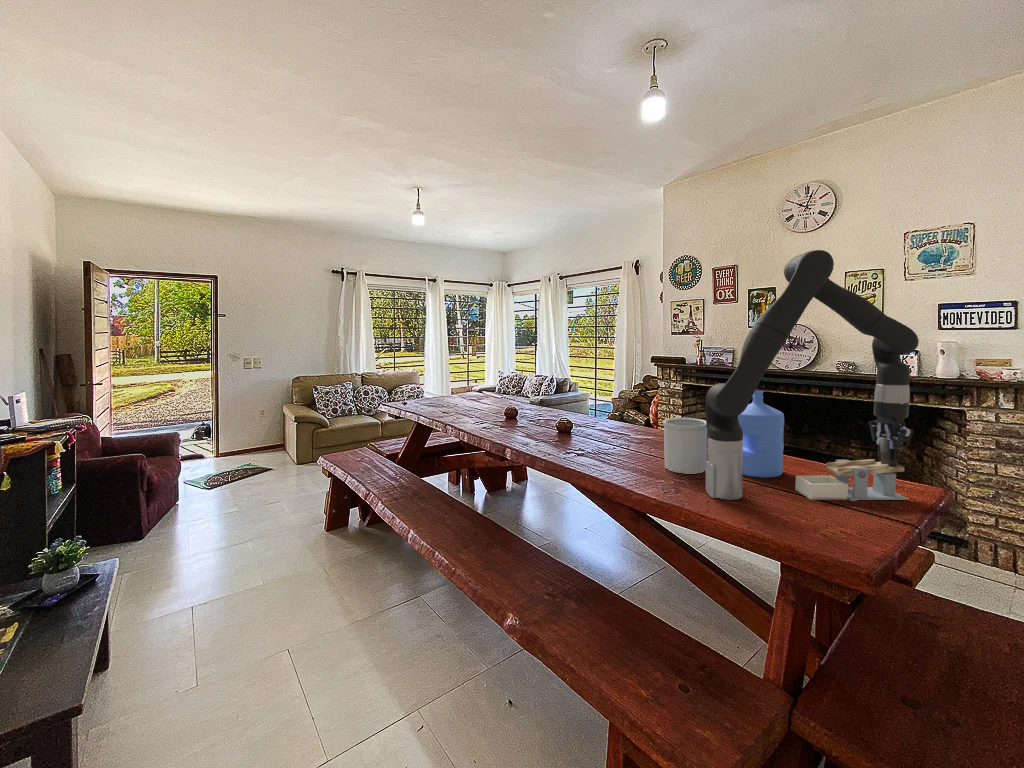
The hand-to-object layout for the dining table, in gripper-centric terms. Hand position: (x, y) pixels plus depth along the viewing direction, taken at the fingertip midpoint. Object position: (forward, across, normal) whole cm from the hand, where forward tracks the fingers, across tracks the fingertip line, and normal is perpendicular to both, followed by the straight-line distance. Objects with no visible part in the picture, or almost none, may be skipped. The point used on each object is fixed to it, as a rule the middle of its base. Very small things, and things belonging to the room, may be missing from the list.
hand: (888, 459), depth 126 cm
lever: (+3, 0, -6) cm, 7 cm away
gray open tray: (+11, 0, -18) cm, 21 cm away
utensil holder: (+11, -26, -49) cm, 56 cm away
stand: (+10, 0, -5) cm, 12 cm away
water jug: (+11, -23, -26) cm, 36 cm away
